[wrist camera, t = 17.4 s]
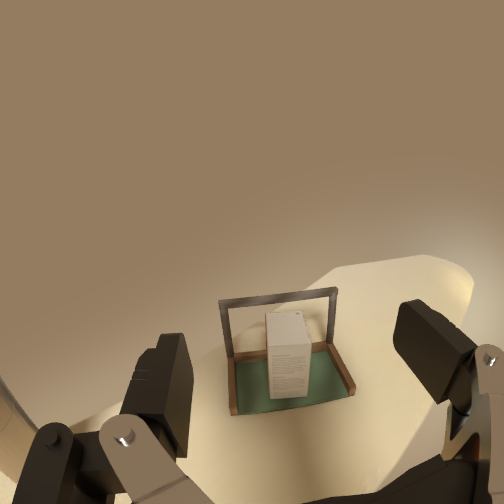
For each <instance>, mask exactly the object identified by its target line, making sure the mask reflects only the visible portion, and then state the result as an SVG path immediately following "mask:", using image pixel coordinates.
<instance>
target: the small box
mask: <svg viewBox="0 0 504 504" xmlns="http://www.w3.org/2000/svg"><path fill="white" fill-rule="evenodd" d="M265 322H266V349H267V363H268V377H269V394H270V399H282V398H295V397H306V396H307V394H308V384H309V373H310V361H311V347H312V342H311V340H310V337H309V333H308V330H307V326H306V322H305V318H304V313H303V311H292V312H277V313H266V314H265Z"/></svg>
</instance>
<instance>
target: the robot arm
mask: <svg viewBox="0 0 504 504" xmlns="http://www.w3.org/2000/svg"><path fill="white" fill-rule="evenodd" d="M393 344H394V347H395V349H396V351H397V352H398V354H399V355H400V356H401V357H402V359H403V360H404V361H405V362H406V364H407V365H408V366H409V368H410V369H411V370H412V371H413V373H414V374H415V375H416V377H417V378H418V379H419V381H420V382H421V383H422V385H423V386H424V387H425V389H426V390H427V391H428V393H429V394H430V395H431V397H432V398H433V399H434V401H435V402H436V403H437V404H440V403H441V402H444V401H446V400H448V399H449V400H450V401H451V402H450V404H449V406H448V409H447V421H446V431H445V439H444V446H443V450H442V453H441V454H438V455H436V456H435V457H433V458H431V459H429V460H428V461H425V462H423V463H421V464H419V465H417V466H415V467H413V468H411V469H409V470H408V471H406V472H405V473H404V474H403V475H401V476H400V477H398V478H397V479H395V480H394V481H393V482H391V483H390V484H388V485H387V486H386V487H384V488H382V489H381V490H379V491H377V492H375V493H369V494H361V495H351V496H339V497H329V498H325V499H321V500H317V501H312V502H307V503H302V504H504V352H503V351H502V350H501V349H500V348H498V347H496V346H494V345H490V344H485V345H481V346H479V347H478V346H477V345H476V344H475V343H474V342H473V341H472V340H471V339H470V338H468V337H467V336H466V335H465V334H464V333H463V332H462V331H461V330H460V329H458V328H456V326H455V325H454V324H453V323H452V322H449V320H448V319H447V318H446V317H445V316H443V315H442V314H441V313H439V312H437V311H435V310H432V309H431V308H430V307H429V306H427V305H426V304H425V303H424V302H423V301H421V300H420V299H416V300H412V301H408V302H403V303H402V304H401V305H400V307H399V311H398V316H397V321H396V325H395V330H394V334H393ZM193 383H194V377H193V368H192V364H191V360H190V357H189V353H188V350H187V345H186V341H185V338H184V335H183V333H170V334H161V335H160V337H159V340H158V343H157V346H156V348H152V349H147V350H146V351H145V352H144V353H143V354H142V355H141V356H140V357H139V359H138V362H137V364H136V367H135V371H134V373H133V375H132V380H131V381H130V384H129V387H128V390H127V393H126V395H125V398H124V401H123V404H122V407H121V410H120V413H119V415H117V416H114V417H112V418H110V419H108V420H107V421H106V422H105V423H104V424H103V425H102V427H101V429H100V431H95V432H88V433H79V434H73V433H72V431H71V430H70V429H69V428H68V427H67V426H66V425H64V424H62V423H57V422H56V423H49V424H46V425H45V426H43V427H41V428H40V429H38V428H37V427H36V426H35V424H34V423H33V422H32V421H31V419H30V418H29V417H28V415H27V414H26V413H25V411H24V410H23V409H22V407H21V406H20V405H19V403H18V402H17V400H16V399H15V397H14V396H13V395H12V393H11V392H10V390H9V389H8V387H7V386H6V384H5V383H4V381H3V380H2V378H1V376H0V470H1V471H2V472H3V473H4V474H5V475H6V476H7V477H9V478H10V479H11V480H12V481H13V482H15V483H16V484H17V488H16V491H15V494H14V498H13V502H12V504H114V501H115V494H118V493H128V495H129V497H130V498H131V500H132V503H131V504H214V503H213V502H212V501H211V500H210V499H209V498H208V497H207V495H206V494H205V493H204V492H203V491H202V490H201V489H200V488H199V487H198V486H197V485H196V484H195V483H194V482H193V481H192V480H191V479H190V478H189V477H188V476H186V475H185V474H184V473H183V471H182V470H181V469H180V468H179V467H178V466H177V464H176V458H187V450H188V437H189V425H190V413H191V403H192V393H193Z"/></svg>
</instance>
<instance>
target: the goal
mask: <svg viewBox="0 0 504 504" xmlns="http://www.w3.org/2000/svg"><path fill="white" fill-rule="evenodd" d="M337 295H338V288H337V287H328V288H321V289H314V290H306V291H298V292H291V293H283V294H274V295H265V296H256V297H246V298H236V299H226V300H219V302H218V304H219V309H220V315H221V322H222V328H223V335H224V341H225V347H226V353H227V359H228V387H229V408H230V413H231V416H234V415H245V414H255V413H264V412H272V411H279V410H285V409H292V408H297V407H303V406H308V405H314V404H319V403H323V402H328V401H332V400H337V399H341V398H345V397H349V396H353V395H354V394H355V390H356V385H355V383H354V381H353V379H352V377H351V375H350V373H349V372H348V370H347V368H346V366H345V364H344V362H343V361H342V359H341V357H340V355H339V353H338V351H337V350H336V348H335V346H334V344H333V335H334V325H335V314H336V300H337ZM327 296H329V309H328V324H327V336H326V341H322V342H317V343H312V347H311V361H310V373H309V384H308V394H307V396H306V397H295V398H282V399H270V394H269V377H268V363H267V350H261V351H253V352H243V353H234V351H233V344H232V337H231V330H230V323H229V315H228V308H237V307H248V306H257V305H266V304H275V303H283V302H291V301H299V300H306V299H313V298H320V297H327Z"/></svg>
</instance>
